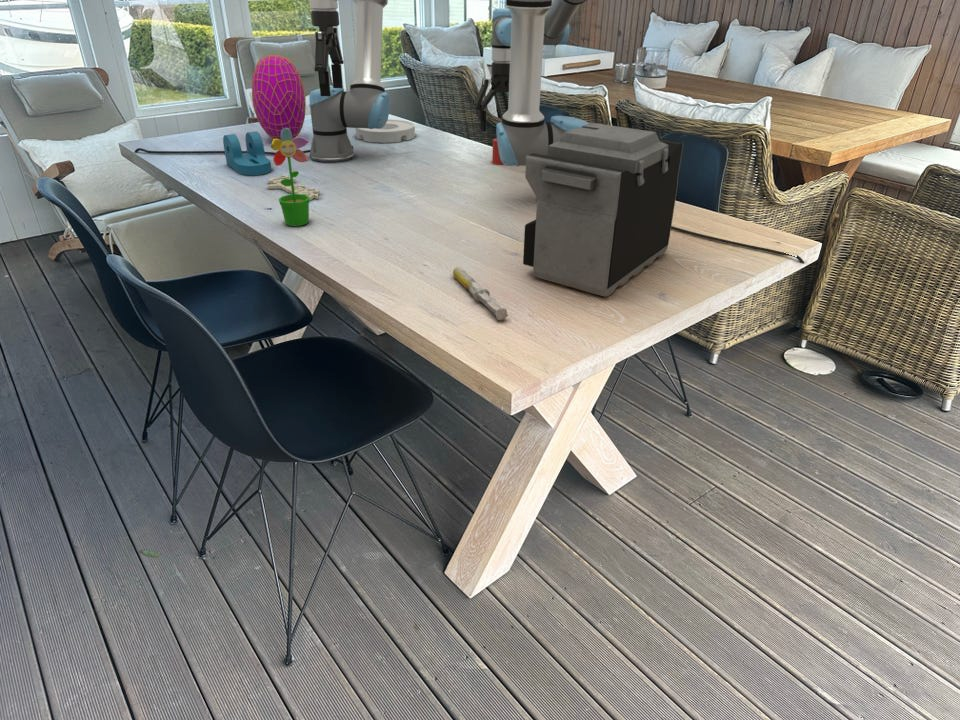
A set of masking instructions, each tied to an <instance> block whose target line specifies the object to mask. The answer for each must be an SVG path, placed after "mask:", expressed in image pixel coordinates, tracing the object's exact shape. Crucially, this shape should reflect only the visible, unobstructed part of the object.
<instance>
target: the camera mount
mask: <svg viewBox="0 0 960 720" xmlns="http://www.w3.org/2000/svg"><path fill="white" fill-rule="evenodd" d="M222 140H223V141H222V143H223V149H224V150H223V151H225V153H224V156H225V161H226V165H227V166H228V167H230V168H231V169H232V170H234V171H236V172H237V173H238V174H239V175H244V176H260V175H265V174H268V173H271V172H272V164H271V159H270V158H268V157H267V156H266V154H265V152H266V151H265V145H264V141H263V139H262V136H261V134H260V132H258V131H247V132H246V133H245V146H246V151H247V153H242V151H243V149H242V146H241V142H240V140H239V138H238V135H236V134H235V133H231V134H224V135H223V138H222Z"/></svg>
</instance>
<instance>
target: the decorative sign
mask: <svg viewBox="0 0 960 720" xmlns="http://www.w3.org/2000/svg"><path fill="white" fill-rule="evenodd" d="M283 179H290V175H286V174H280V176H279V177H272V178H269V179H268V183H269V184H267V189H268V190H276V189H280V190H283V191H285V192H286V193H290V194H292V188H291V186H284V185H282V184H281V181H282V180H283ZM293 183H294V191H295V194H304V195H307V196H309V201H312V200H314V199H315V200H318V199H319V195H320V194H321V192H320V190H319V189H317V190H316V188H315V187H309V188H307V187H306V186H305V184H300V183H296V177H294V178H293ZM295 183H296V184H295Z"/></svg>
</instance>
